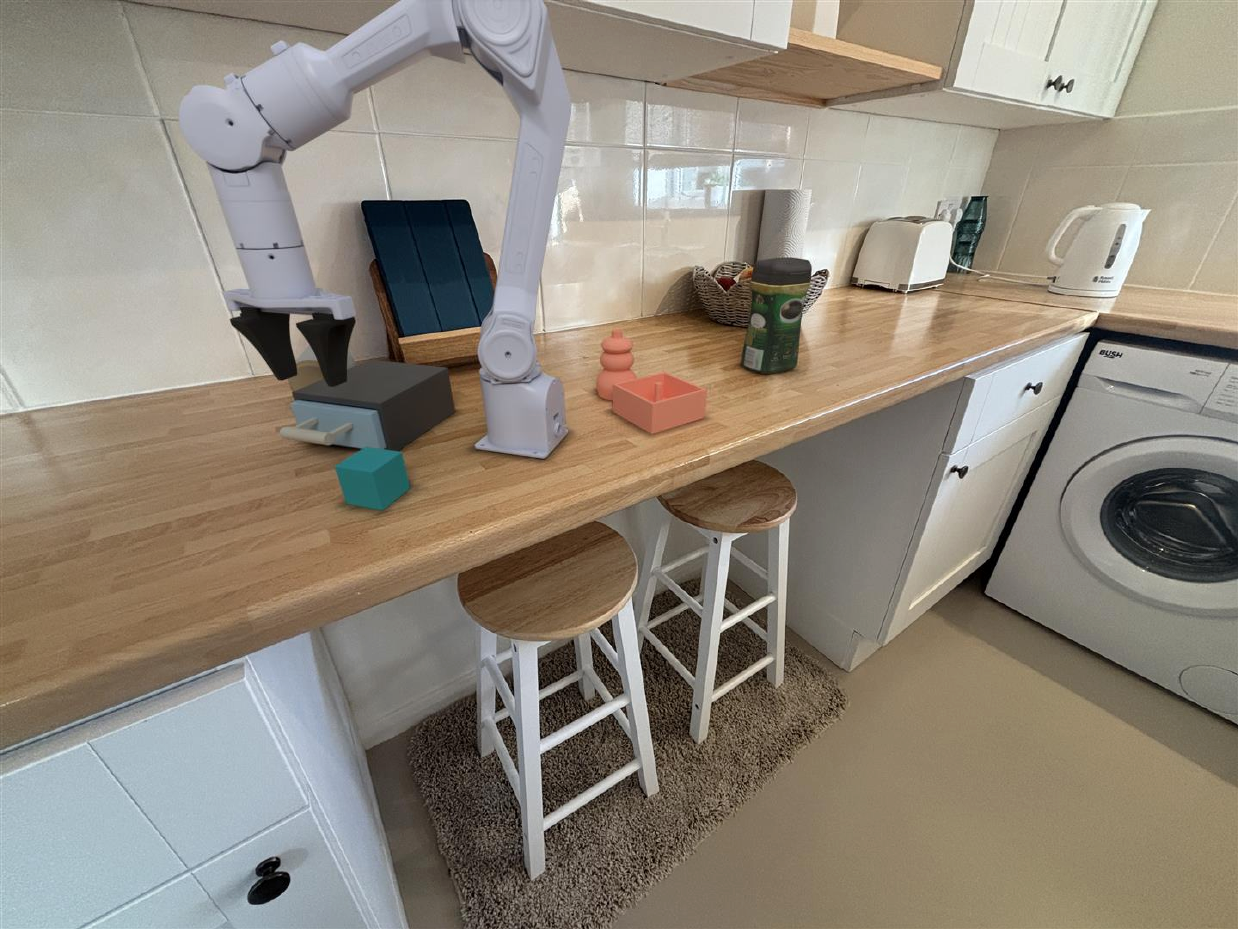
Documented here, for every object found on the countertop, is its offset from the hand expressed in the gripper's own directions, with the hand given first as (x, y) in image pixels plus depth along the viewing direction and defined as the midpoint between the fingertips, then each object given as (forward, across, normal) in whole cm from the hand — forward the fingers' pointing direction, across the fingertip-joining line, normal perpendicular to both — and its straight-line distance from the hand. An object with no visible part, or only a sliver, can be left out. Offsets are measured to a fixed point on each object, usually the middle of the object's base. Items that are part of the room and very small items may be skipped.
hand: (312, 380), depth 54 cm
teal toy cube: (+9, -11, +6) cm, 16 cm away
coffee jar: (+10, -49, -50) cm, 71 cm away
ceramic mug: (+10, +14, -16) cm, 23 cm away
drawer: (+9, 0, -5) cm, 10 cm away
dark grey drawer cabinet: (+9, 0, -9) cm, 13 cm away
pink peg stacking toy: (+10, -31, -26) cm, 42 cm away
